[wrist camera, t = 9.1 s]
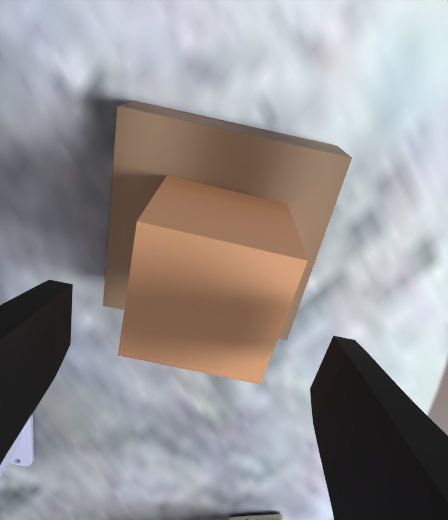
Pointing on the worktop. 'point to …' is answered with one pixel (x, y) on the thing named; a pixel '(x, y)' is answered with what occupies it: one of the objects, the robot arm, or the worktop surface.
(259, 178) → the walnut block
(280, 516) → the skincare box
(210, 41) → the worktop surface
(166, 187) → the orange cube
